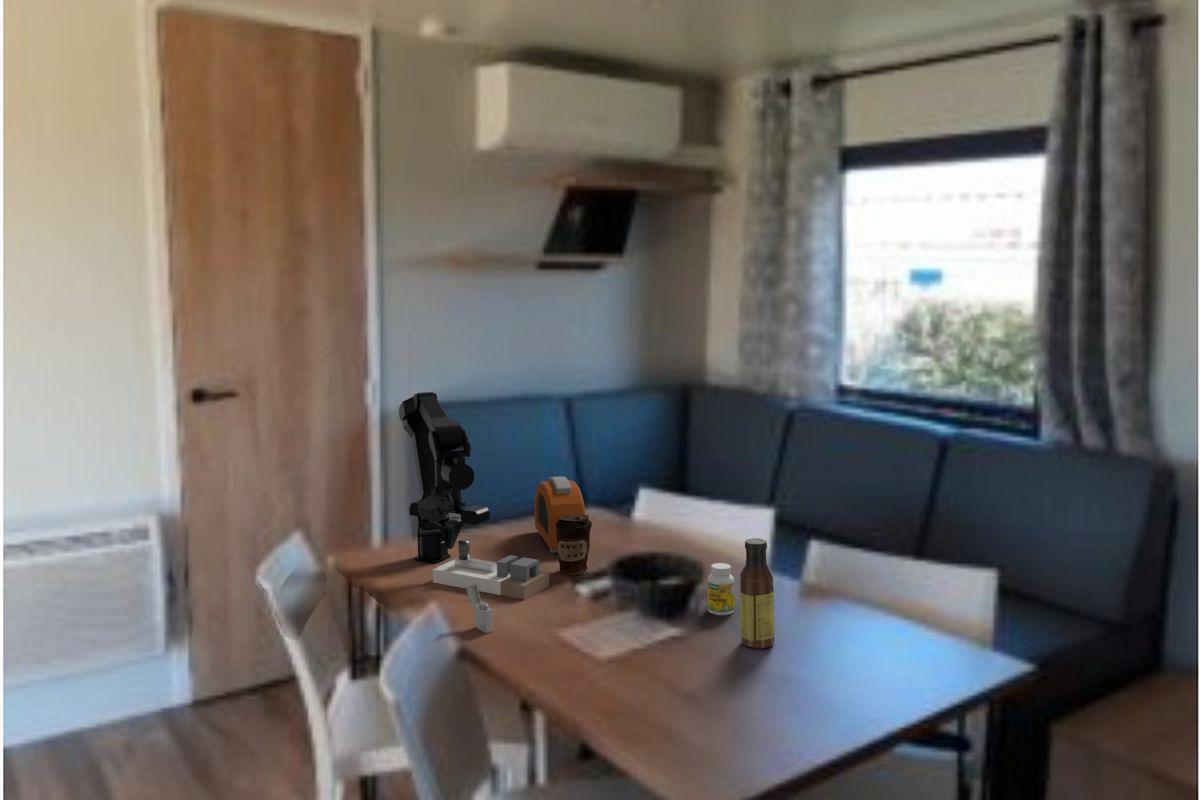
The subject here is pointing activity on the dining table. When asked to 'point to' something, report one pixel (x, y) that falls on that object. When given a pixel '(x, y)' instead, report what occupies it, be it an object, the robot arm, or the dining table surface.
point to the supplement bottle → (721, 590)
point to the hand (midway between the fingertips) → (450, 548)
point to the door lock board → (497, 577)
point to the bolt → (472, 563)
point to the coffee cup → (573, 543)
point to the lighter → (480, 610)
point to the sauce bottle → (756, 597)
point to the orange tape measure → (555, 506)
